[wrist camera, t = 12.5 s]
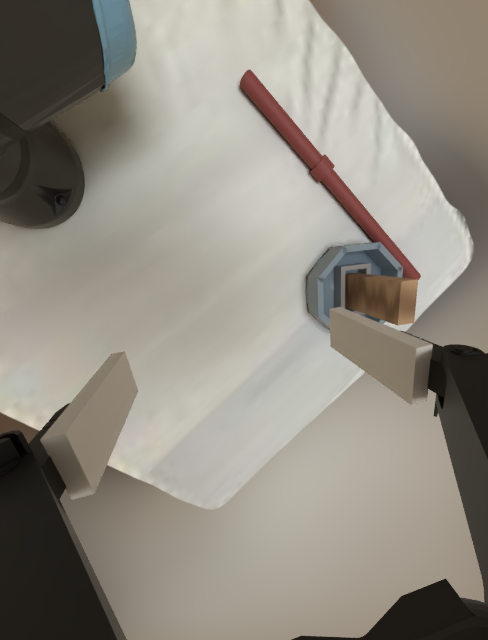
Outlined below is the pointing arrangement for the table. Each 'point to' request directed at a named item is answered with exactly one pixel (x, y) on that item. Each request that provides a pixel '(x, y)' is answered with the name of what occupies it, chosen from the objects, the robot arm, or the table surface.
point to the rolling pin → (321, 167)
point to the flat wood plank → (382, 296)
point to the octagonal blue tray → (330, 276)
